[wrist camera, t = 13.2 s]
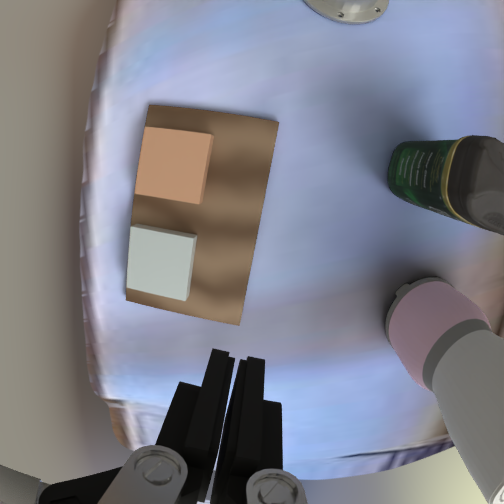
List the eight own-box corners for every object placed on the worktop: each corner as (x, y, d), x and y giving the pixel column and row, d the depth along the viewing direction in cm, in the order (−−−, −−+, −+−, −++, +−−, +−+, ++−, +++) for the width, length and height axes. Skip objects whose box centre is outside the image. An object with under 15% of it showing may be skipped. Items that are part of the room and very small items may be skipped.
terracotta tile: (214, 136, 36) (151, 128, 36) (211, 134, 34) (145, 126, 34) (202, 202, 38) (141, 192, 38) (199, 204, 36) (134, 193, 36)
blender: (381, 282, 40) (526, 464, 9) (455, 266, 39) (618, 386, 8) (381, 375, 44) (456, 551, 13) (448, 356, 43) (549, 496, 12)
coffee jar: (378, 193, 37) (459, 216, 19) (394, 134, 35) (480, 117, 17) (439, 216, 38) (530, 251, 20) (453, 161, 36) (549, 167, 18)
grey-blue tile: (197, 234, 39) (137, 223, 39) (193, 238, 37) (130, 226, 37) (189, 294, 41) (132, 281, 41) (185, 301, 39) (126, 287, 39)
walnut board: (151, 106, 36) (149, 104, 35) (278, 123, 36) (279, 122, 35) (128, 297, 43) (125, 300, 42) (239, 322, 43) (239, 325, 42)
